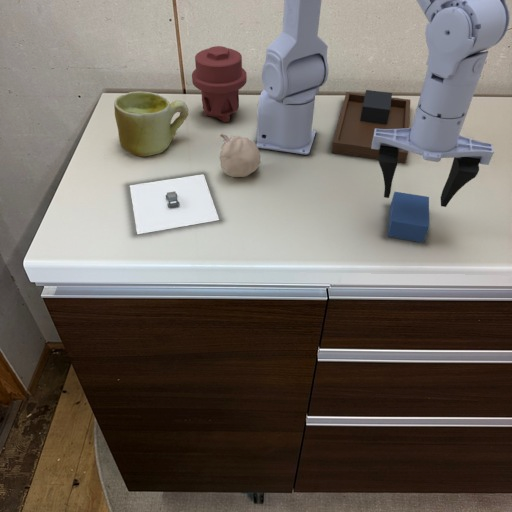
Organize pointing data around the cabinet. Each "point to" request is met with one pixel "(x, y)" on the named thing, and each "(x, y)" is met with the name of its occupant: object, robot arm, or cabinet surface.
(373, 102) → the charcoal block
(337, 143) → the tray
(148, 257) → the cabinet surface
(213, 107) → the mechanical component
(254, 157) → the garlic bulb
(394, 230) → the blue block
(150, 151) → the mug
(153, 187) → the white paper sheet
